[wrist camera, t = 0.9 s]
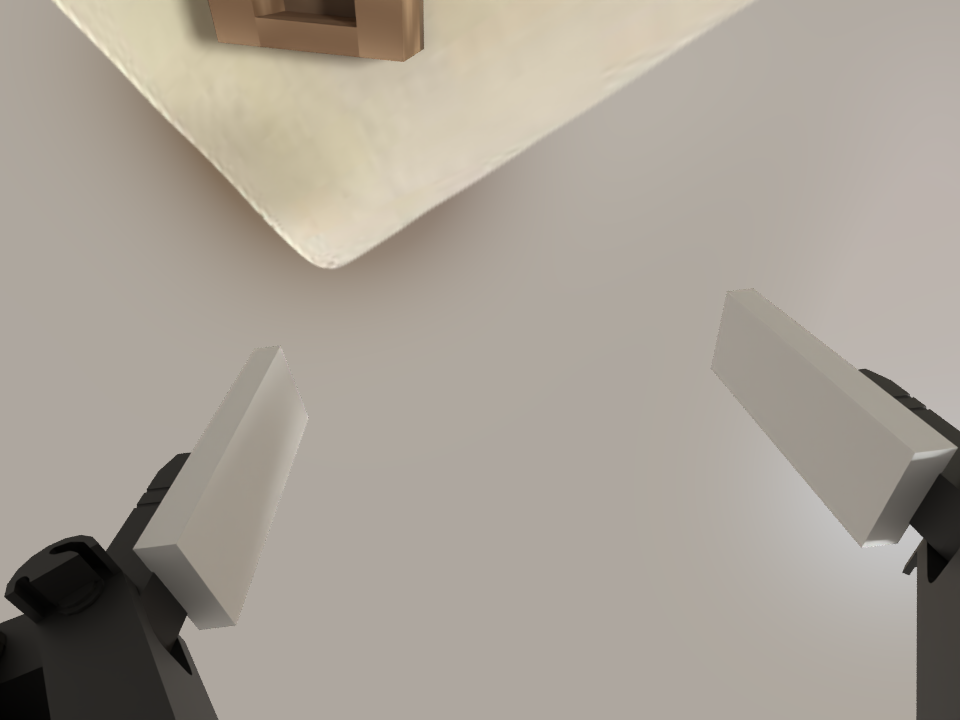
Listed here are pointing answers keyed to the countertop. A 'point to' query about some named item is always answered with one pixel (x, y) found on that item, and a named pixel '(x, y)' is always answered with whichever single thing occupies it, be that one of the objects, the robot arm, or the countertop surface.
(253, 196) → the countertop surface
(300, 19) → the socket block
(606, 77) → the countertop surface
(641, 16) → the countertop surface
